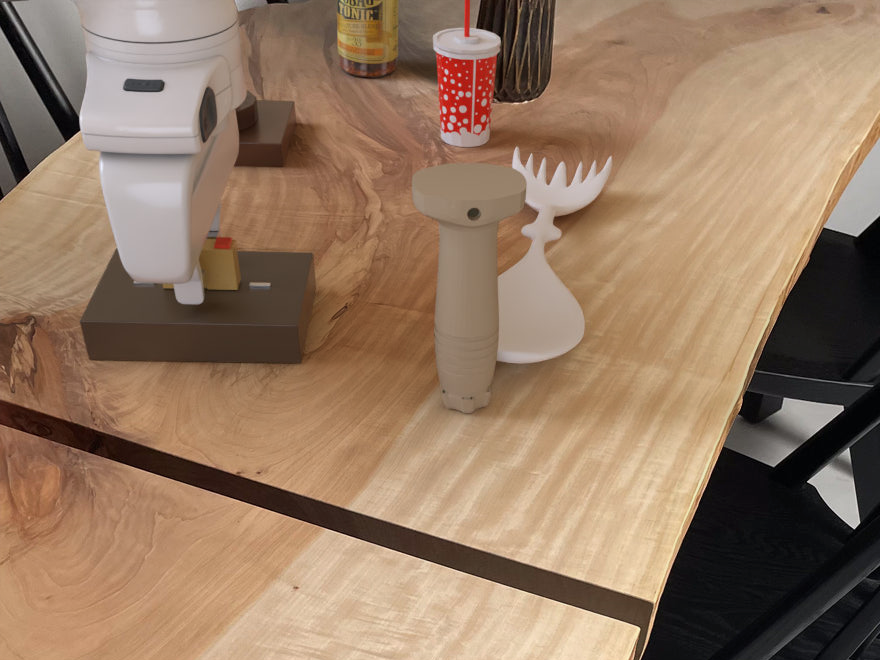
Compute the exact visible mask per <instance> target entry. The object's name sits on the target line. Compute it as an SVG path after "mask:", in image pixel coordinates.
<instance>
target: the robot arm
mask: <svg viewBox="0 0 880 660" xmlns="http://www.w3.org/2000/svg"><path fill="white" fill-rule="evenodd" d="M26 1H27V2H28V0H0V3H8V2H9V3H10V2H26ZM70 1H71V2H72V3H73V4H74V6H75V7H76V8H77V11H78V16H79V20H80V24H81V25H80V26H81V30H82V34H83V39H84V45H85V49H86V50H85V51H86V53H85V65H86V85H85V88H84V93H83V98H82V103H81V107H80V111H79V116H78V117H79V118H78V120H79V122H78V123H79V129H80V134H81V137H82V142H83V145H84V147H85V149H86V150H88V151H90V152H99V157H98V173H99V180H100V185H101V186H100V187H101V191H102V197H103V199H104V204H105V208H106V212H107V216H108V219H109V224H110V227H111V231H112V234H113V238H114V242H115V245H116V248H117V249H118V252H119V256H120V259H121V262H122V264H123V266H124V268H125V270H126V271H127V273H128V274H129V275H130V277H131V278H132V279H133V280H134V281H136V282H140V283H156V284H173V285H174V290H175V296H176V299H177V301H178V302H179V303H181V304H197V305H198V304H201V303H202V302H203V301H204V297H205V295H206V292H207V284H206V276H205V270H201V267H200V263H199V257H200V254H201V251H202V249H203V246H204V243H205V241H206V239H217V237H222V229H221V226H222V225H221V224H222V203H223V202H222V201H223V196H224V194H225V191H226V188H227V185H228V183H229V179H230V178H231V175H232V172H233V169H234V167H235V166H234V164H235V162H236V159H237V157H238V153H239V130H238V123H237V116H236V110H235V109H236V108H238V107H239V106H240V105H241V104H242V103H243V102H244V100H245V98H246V95H247V91H246V90H247V82H246V75H245V73H246V72H245V64H244V56H243V48H242V40H241V39H242V38H241V31H240V30H241V29H240V19H239V13H238V12H239V11H238V8H237V7H238V6H237V4H236V0H70Z"/></svg>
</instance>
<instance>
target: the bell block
mask: <svg viewBox="0 0 880 660" xmlns="http://www.w3.org/2000/svg"><path fill="white" fill-rule="evenodd" d="M246 91H247V95H246V98H245V100H244V102H243V103H242V104H241V105H240V106H239V107H238V108H236V109H235V110H236V116H237V123H238V130H239V153H238V157H237V159H236V162H235V164H234V165H235V166H234V167H251V168H253V167H254V168H255V167H257V168H284V167H285V163H286V160H287V156H288V153H289V150H290V146H291V143H292V139H293V136H294V133H295V129H296V126H297V116H296V114H297V113H296V102H295V101H294V100H271V99H270V100H268V99H267V100H266V99H257V96H256V95H254V94H253V93H252V92H251V90H247V89H246Z"/></svg>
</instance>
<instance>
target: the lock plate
mask: <svg viewBox="0 0 880 660" xmlns="http://www.w3.org/2000/svg"><path fill="white" fill-rule="evenodd" d="M237 252H238V260H239V268H240V275H241V281H240V284H239V287H238V290H215V289H207V292H206V295H205V297H204V301H203V302H202V303H201V304H198V305H197V304H181V303H179V302H178V301H177V299H176V296H175V290H174V289H170V288H163V284H156V283H140V282H136V281H134V280H133V279H132V278H131V277H130V275H129V274H128V273H127V271H126V270H125V268H124V266H123V264H122V262H121V259H120V256H119V252H118V249H117V247H116V248H115V250H114V252H113V254H112V256H111V257H110V260H109V262H108V263H107V265H106V267H105V270H104V272H103V274H102V276H101V278H100V280H99V282H98V283H97V286H96V288H95V289H94V291H93V293H92V296H91V298H90V299H89V301H88V304H87V305H86V307H85V309H84V310H83V313H82V315H81V317H80V319H79V324H80V329H81V332H82V336H83V341H84V345H85V348H86V353H87V357H88V360H90V361H92V360H93V361H94V360H95V361H98V360H99V361H141V362H142V361H149V362H152V361H153V362H194V363H195V362H196V363H197V362H198V363H200V362H201V363H202V362H205V363H250V364H251V363H252V364H253V363H255V364H257V363H258V364H302V360H303V356H304V352H305V351H304V350H305V346H306V341H307V337H308V331H309V326H310V321H311V317H312V311H313V306H314V301H315V297H316V292H317V280H316V268H315V257H314V253H313V252H301V251H300V252H298V251H297V252H295V251H291V252H290V251H259V250H258V251H256V250H237Z"/></svg>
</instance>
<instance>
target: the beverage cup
mask: <svg viewBox="0 0 880 660" xmlns="http://www.w3.org/2000/svg"><path fill="white" fill-rule="evenodd" d="M470 19H471V0H464V22H463V23H464V25H463V26H464V27H454V28H453V27H452V28H446V29H443V30H439V31H437V32H436V33H434V34H433V35H432V47H433V48H432V49H433V51H435V53H436V54H435V55H436V73H437V88H438V105H439V122H440V123H439V124H440V139H441V140H442V141H443V142H444V143H446V144H447V145H450V146H454V147H461V148H473V147H480V146H483V145H485V144H487V143H488V142H489V140H490V136H491V135H490V134H491V124H492V115H493V114H492V113H493V102H494V93H495V83H496V82H495V81H496V72H497V71H496V69H497V63H498V62H497V60H498V54H499V53H500V52H501V46H502V41H501V36H499V35H497V34H496V33H494V32H492V31H489V30H487V29H480V28H474V27H470V26H471V25H470V24H471V20H470Z"/></svg>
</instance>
